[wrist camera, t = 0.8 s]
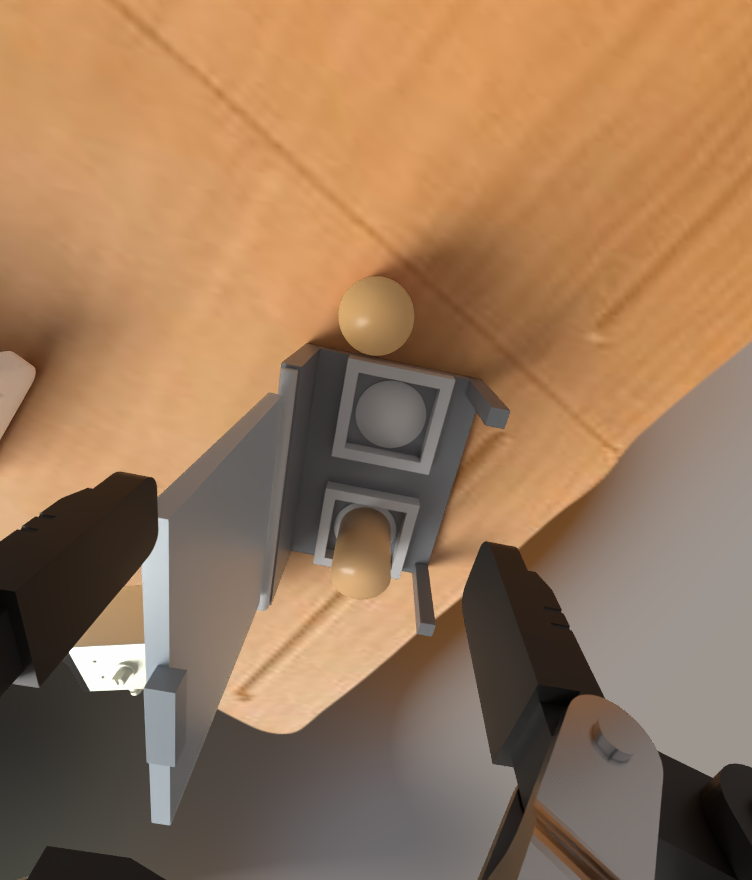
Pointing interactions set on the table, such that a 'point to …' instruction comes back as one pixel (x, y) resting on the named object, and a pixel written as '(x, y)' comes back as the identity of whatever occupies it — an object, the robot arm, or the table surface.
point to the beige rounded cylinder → (376, 316)
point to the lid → (203, 593)
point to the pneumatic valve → (113, 647)
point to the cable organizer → (13, 385)
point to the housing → (367, 468)
